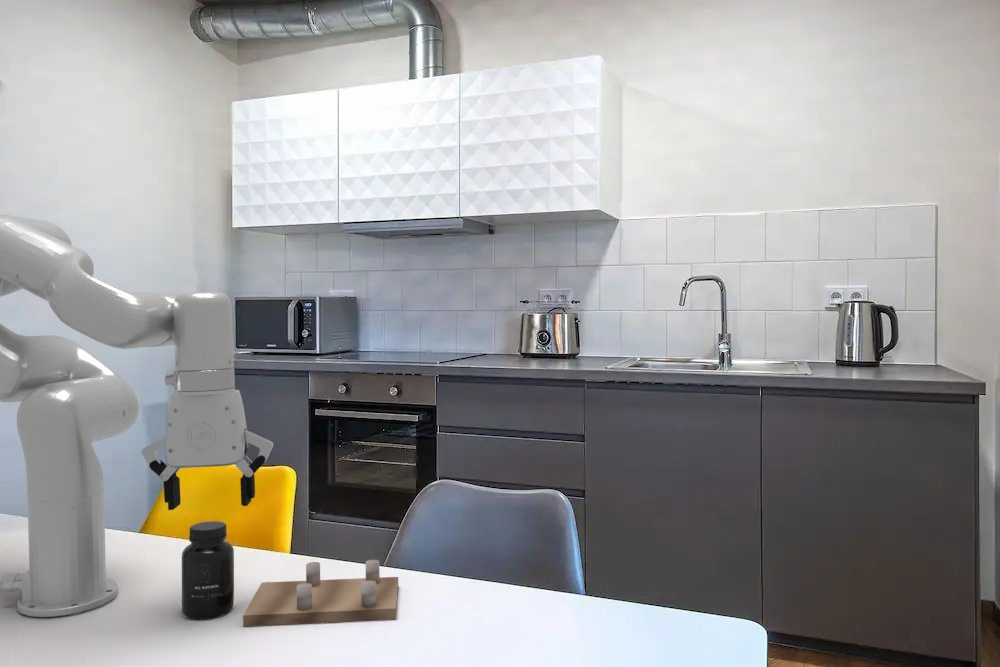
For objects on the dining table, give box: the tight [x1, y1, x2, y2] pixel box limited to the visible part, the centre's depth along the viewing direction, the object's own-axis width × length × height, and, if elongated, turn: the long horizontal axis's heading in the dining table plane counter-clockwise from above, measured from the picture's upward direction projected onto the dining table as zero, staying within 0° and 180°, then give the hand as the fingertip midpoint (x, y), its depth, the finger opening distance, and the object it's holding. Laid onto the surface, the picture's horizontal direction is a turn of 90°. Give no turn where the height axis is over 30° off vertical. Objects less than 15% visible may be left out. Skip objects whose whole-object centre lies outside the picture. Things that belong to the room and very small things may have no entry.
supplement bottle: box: [181, 520, 235, 621], centre depth 105 cm, size 7×7×12 cm
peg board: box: [242, 559, 399, 628], centre depth 107 cm, size 20×12×4 cm, turn 96°
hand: (210, 505), depth 105 cm, fingers open, 9 cm apart
